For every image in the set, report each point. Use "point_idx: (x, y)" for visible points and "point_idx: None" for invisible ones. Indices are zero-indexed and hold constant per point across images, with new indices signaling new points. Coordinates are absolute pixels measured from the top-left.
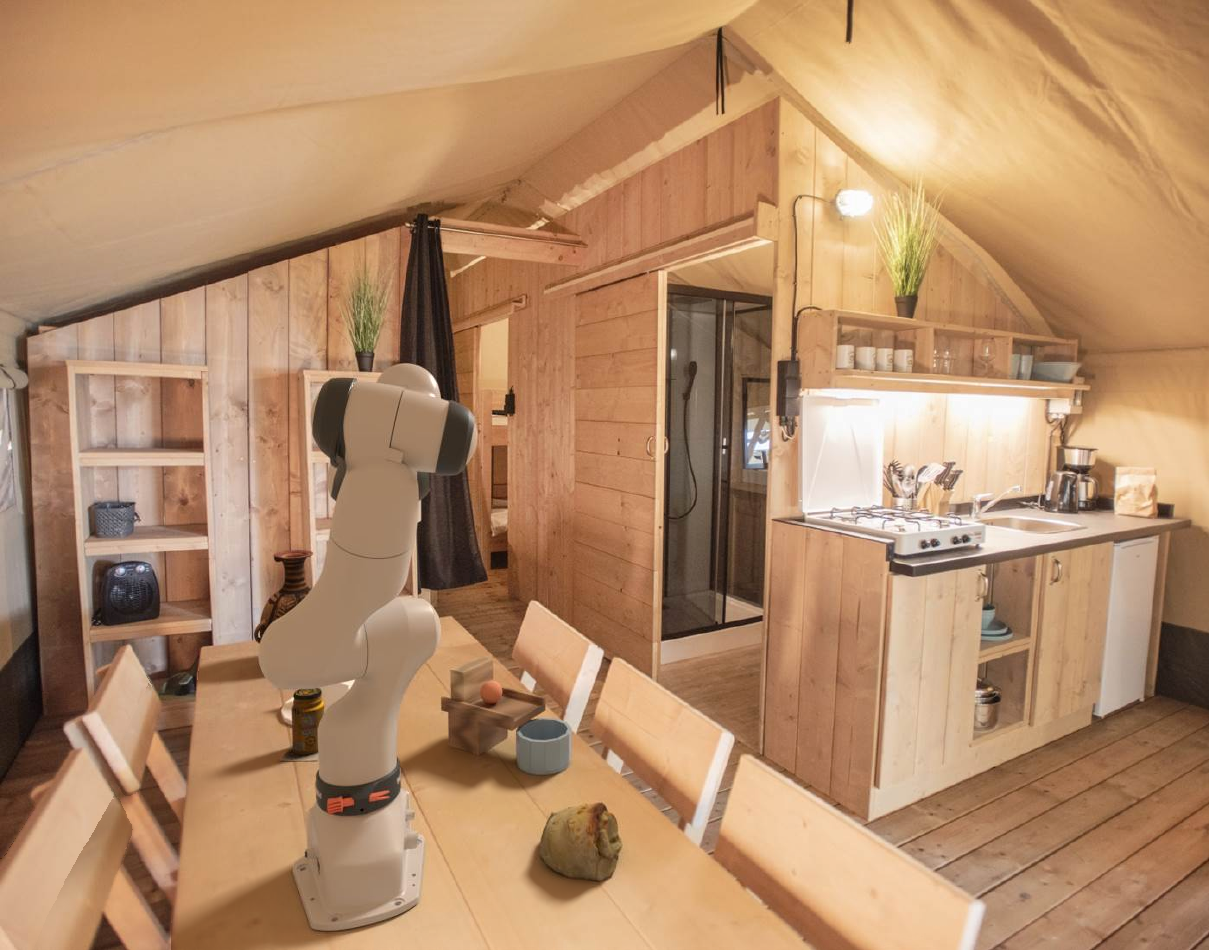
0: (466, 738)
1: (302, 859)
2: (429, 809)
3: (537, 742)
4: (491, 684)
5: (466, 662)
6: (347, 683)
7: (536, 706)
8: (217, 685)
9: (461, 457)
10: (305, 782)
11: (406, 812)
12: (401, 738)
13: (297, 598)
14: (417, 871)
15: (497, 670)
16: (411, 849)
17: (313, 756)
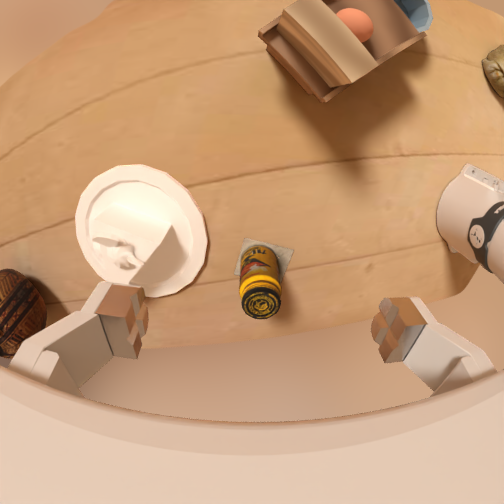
0: None
1: (453, 248)
2: (433, 147)
3: (430, 24)
4: (368, 23)
5: (317, 41)
6: (153, 245)
7: None
8: None
9: None
10: (337, 256)
11: (498, 191)
12: (264, 153)
13: (2, 340)
14: (493, 178)
15: (62, 37)
16: (478, 177)
17: (282, 254)
